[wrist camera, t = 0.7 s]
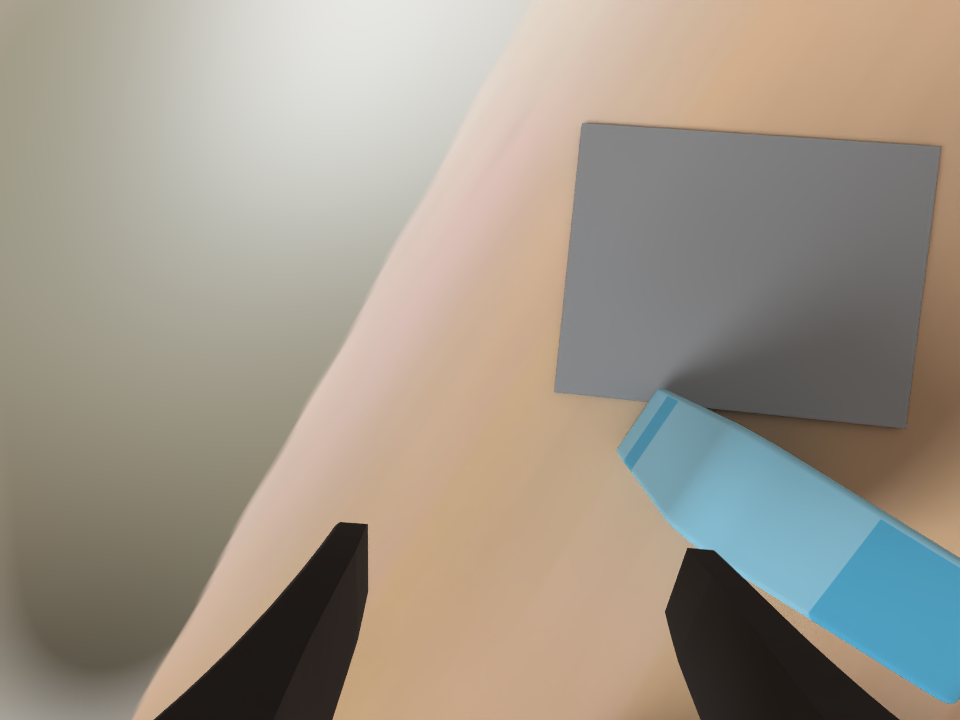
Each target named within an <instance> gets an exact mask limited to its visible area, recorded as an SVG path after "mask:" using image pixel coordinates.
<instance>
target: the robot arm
mask: <svg viewBox="0 0 960 720" xmlns="http://www.w3.org/2000/svg"><path fill="white" fill-rule="evenodd" d="M367 594H368V524H358V523H345V522H340V523H338V524H337V525H336V526H335V527H334V528H333V530H332V531H331V532H330V534H329V535H328V536H327V538H326V539H325V541H324V542H323V543H322V545H321V546H320V547H319V548H318V550H317V551H316V552H315V554H314V555H313V556H312V557H311V559H310V560H309V561H308V562H307V564H306V565H305V566H304V567H303V569H302V570H301V571H300V572H299V574H298V575H297V576H296V577H295V578H294V579H293V581H292V582H291V583H290V584H289V585H288V586H287V588H286V589H285V590H284V591H283V592H282V593H281V595H280V596H279V597H278V598H277V599H276V600H275V602H274V603H273V604H272V605H271V606H270V607H269V608H268V609H267V611H266V612H265V613H264V614H263V615H262V616H261V617H260V618H259V619H258V620H257V621H256V622H255V623H254V624H253V625H252V626H251V628H250V629H249V630H248V631H247V632H246V633H245V634H244V635H243V636H242V637H241V638H240V639H239V640H238V641H237V642H236V643H235V644H234V645H233V646H232V648H231V649H230V650H229V651H228V652H227V653H225V654H224V655H223V656H222V657H221V658H220V659H219V660H218V661H217V662H216V663H215V664H214V665H213V666H212V667H211V668H210V669H209V670H208V671H207V672H206V673H205V674H204V675H203V676H202V677H201V678H200V679H199V680H198V681H196V682H195V683H194V684H193V685H192V686H191V687H190V688H189V689H188V690H187V691H186V692H185V693H184V694H182V695H181V696H180V697H179V698H178V699H177V700H176V701H175V702H173V703H172V704H171V705H170V706H169V707H168V708H167V709H165V710H164V711H163V712H162V713H161V714H160V715H159V716H157V717H156V718H155V719H154V720H332V719H333V716H334V713H335V710H336V706H337V703H338V700H339V697H340V694H341V691H342V688H343V685H344V681H345V678H346V675H347V672H348V669H349V666H350V663H351V659H352V656H353V653H354V650H355V647H356V643H357V640H358V636H359V631H360V627H361V622H362V618H363V613H364V608H365V603H366V599H367ZM665 614H666V618H667V622H668V626H669V630H670V634H671V638H672V641H673V645H674V648H675V652H676V655H677V659H678V662H679V665H680V668H681V670H682V673H683V676H684V678H685V681H686V683H687V686H688V688H689V691H690V694H691V696H692V699H693V701H694V704H695V706H696V709H697V712H698V714H699V717H700V719H701V720H899V719H898V718H897V717H895V716H894V715H893V714H892V713H890V712H889V711H888V710H887V709H886V708H884V707H883V706H882V705H881V704H880V703H878V702H877V701H876V700H875V699H874V698H872V697H871V696H870V695H869V694H868V693H867V692H865V691H864V690H863V689H862V688H861V687H860V686H859V685H857V684H856V683H855V682H854V681H853V680H852V679H851V678H849V677H848V676H847V675H846V674H845V673H844V672H843V671H841V670H840V669H839V668H838V667H837V666H836V665H835V664H834V663H832V662H831V661H830V660H829V659H828V658H827V657H826V656H825V655H824V654H822V653H821V652H820V651H819V650H818V649H817V648H816V647H815V646H814V645H813V644H812V643H810V642H809V641H808V640H807V639H806V638H805V637H804V636H803V635H802V634H801V633H800V632H799V631H798V630H797V629H796V628H795V627H793V626H792V625H791V624H790V623H789V622H788V621H787V620H786V619H785V618H784V617H783V616H782V615H781V614H780V613H779V612H778V611H777V610H776V609H775V608H774V607H773V606H772V605H771V604H770V603H769V602H767V601H766V600H765V599H764V598H763V597H762V596H761V595H760V594H759V593H758V592H757V591H756V590H755V589H754V588H753V587H752V586H751V585H750V584H749V583H748V582H747V581H746V580H745V579H744V578H743V577H742V576H741V575H740V574H739V573H738V572H737V571H736V570H735V569H734V568H733V567H732V566H731V565H730V564H728V563H727V562H726V561H725V560H724V559H723V558H722V557H721V556H720V555H719V554H718V553H717V552H716V551H714V550H707V549H693V548H687V551H686V554H685V556H684V559H683V562H682V565H681V568H680V571H679V573H678V576H677V579H676V582H675V585H674V588H673V591H672V593H671V596H670V599H669V602H668V605H667V608H666V610H665Z"/></svg>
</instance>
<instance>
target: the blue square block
mask: <svg viewBox="0 0 960 720" xmlns="http://www.w3.org/2000/svg"><path fill="white" fill-rule="evenodd" d="M617 453H618V455H619V456H620V457H621V459H622V460H623V462H624V463H625V464H626V466H627V467H628V468H629V470H630V471H631V473H632V474H633V475H634V477H635V478H636V479H637V481H638V482H639V484H640V485H641V486H642V488H643V489H644V490H645V492H646V493H647V495H648V496H649V497H650V499H651V500H652V501H653V503H654V504H655V505H656V507H657V508H658V510H659V511H660V512H661V514H662V515H663V516H664V518H665V519H666V520H667V522H668V523H669V524H670V525H671V526H672V527H673V528H674V529H675V530H676V531H677V532H679V533H680V534H681V535H682V536H683V537H684V538H686V539H687V540H688V541H689V542H691V543H692V544H693V545H694V546H696V547H697V548H698V549H707V550H714V551H716V552H717V553H718V554H719V555H720V556H721V557H722V558H723V559H724V560H725V561H726V562H727V563H728V564H730V565H731V566H732V567H733V568H734V569H735V570H736V571H737V572H738V573H739V574H740V575H741V576H742V577H743V578H745V579H746V580H748V581H750V582H751V583H753V584H754V585H756V586H758V587H759V588H761V589H762V590H764V591H766V592H767V593H769V594H770V595H772V596H774V597H775V598H777V599H778V600H780V601H781V602H783V603H785V604H786V605H788V606H789V607H791V608H793V609H794V610H796V611H797V612H799V613H801V614H802V615H804V616H805V617H807V618H809V619H810V620H812V621H813V622H815V623H817V624H818V625H820V626H821V627H823V628H825V629H826V630H828V631H829V632H831V633H833V634H834V635H836V636H837V637H839V638H841V639H842V640H844V641H845V642H847V643H848V644H850V645H852V646H853V647H855V648H856V649H858V650H860V651H861V652H863V653H864V654H866V655H868V656H869V657H871V658H872V659H874V660H876V661H877V662H879V663H880V664H882V665H884V666H885V667H887V668H888V669H890V670H892V671H893V672H895V673H896V674H898V675H900V676H901V677H903V678H904V679H906V680H908V681H909V682H911V683H912V684H914V685H916V686H917V687H919V688H920V689H922V690H923V691H925V692H927V693H928V694H930V695H932V696H933V697H935V698H937V699H939V700H941V701H943V702H945V703H951V704H952V703H956V702H957V701H958V700H959V699H960V558H959V557H957V556H956V555H954V554H953V553H951V552H949V551H948V550H946V549H944V548H943V547H941V546H940V545H938V544H936V543H935V542H933V541H931V540H930V539H928V538H927V537H925V536H923V535H922V534H920V533H918V532H917V531H915V530H914V529H912V528H910V527H909V526H907V525H905V524H904V523H902V522H901V521H899V520H897V519H896V518H894V517H892V516H891V515H889V514H888V513H886V512H884V511H883V510H881V509H879V508H878V507H876V506H875V505H873V504H871V503H870V502H868V501H866V500H865V499H863V498H862V497H860V496H858V495H857V494H855V493H853V492H852V491H850V490H849V489H847V488H845V487H844V486H842V485H841V484H839V483H837V482H836V481H834V480H832V479H831V478H829V477H828V476H826V475H824V474H823V473H821V472H819V471H818V470H816V469H815V468H813V467H811V466H810V465H808V464H806V463H805V462H803V461H802V460H800V459H798V458H797V457H795V456H793V455H792V454H790V453H789V452H787V451H785V450H784V449H782V448H780V447H779V446H777V445H775V444H774V443H772V442H770V441H768V440H767V439H765V438H763V437H761V436H760V435H758V434H756V433H754V432H753V431H751V430H749V429H747V428H745V427H743V426H741V425H740V424H738V423H736V422H733V421H731V420H729V419H727V418H725V417H723V416H721V415H719V414H717V413H714V412H712V411H710V410H708V409H706V408H704V407H702V406H700V405H698V404H696V403H693V402H691V401H689V400H687V399H685V398H683V397H681V396H679V395H677V394H675V393H672V392H670V391H668V390H666V389H664V388H659V389H657V391H656V392H655V394H654V395H653V397H652V398H651V400H650V401H649V403H648V404H647V406H646V407H645V408H644V410H643V411H642V413H641V414H640V416H639V417H638V419H637V420H636V422H635V423H634V425H633V426H632V428H631V429H630V431H629V432H628V434H627V435H626V437H625V438H624V440H623V441H622V443H621V444H620V445H619V447H618V449H617Z"/></svg>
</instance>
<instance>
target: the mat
mask: <svg viewBox="0 0 960 720" xmlns="http://www.w3.org/2000/svg"><path fill="white" fill-rule="evenodd" d="M940 151H941V147H940V146H925V145H910V144H894V143H879V142H864V141H849V140H834V139H818V138H803V137H788V136H773V135H758V134H742V133H727V132H712V131H697V130H682V129H666V128H651V127H636V126H621V125H606V124H590V123H582V126H581V136H580V146H579V156H578V165H577V175H576V185H575V194H574V204H573V214H572V223H571V233H570V243H569V253H568V262H567V272H566V282H565V291H564V301H563V311H562V321H561V330H560V340H559V350H558V359H557V369H556V379H555V389H554V392H557V393H566V394H576V395H586V396H595V397H605V398H614V399H624V400H634V401H643V402H649V401H650V400H651V398H652V397H653V395H654V394H655V392H656V391H657V389H659V388H664V389H666V390H668V391H670V392H672V393H675V394H677V395H679V396H681V397H683V398H685V399H687V400H689V401H691V402H693V403H696V404H698V405H700V406H702V407H704V408H711V409H721V410H730V411H740V412H750V413H759V414H769V415H778V416H788V417H798V418H807V419H817V420H827V421H836V422H846V423H856V424H865V425H875V426H885V427H894V428H904V429H906V424H907V416H908V408H909V400H910V392H911V384H912V376H913V368H914V360H915V352H916V344H917V336H918V328H919V320H920V312H921V304H922V296H923V288H924V280H925V272H926V264H927V256H928V248H929V240H930V232H931V224H932V215H933V207H934V199H935V191H936V183H937V175H938V167H939V159H940Z"/></svg>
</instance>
